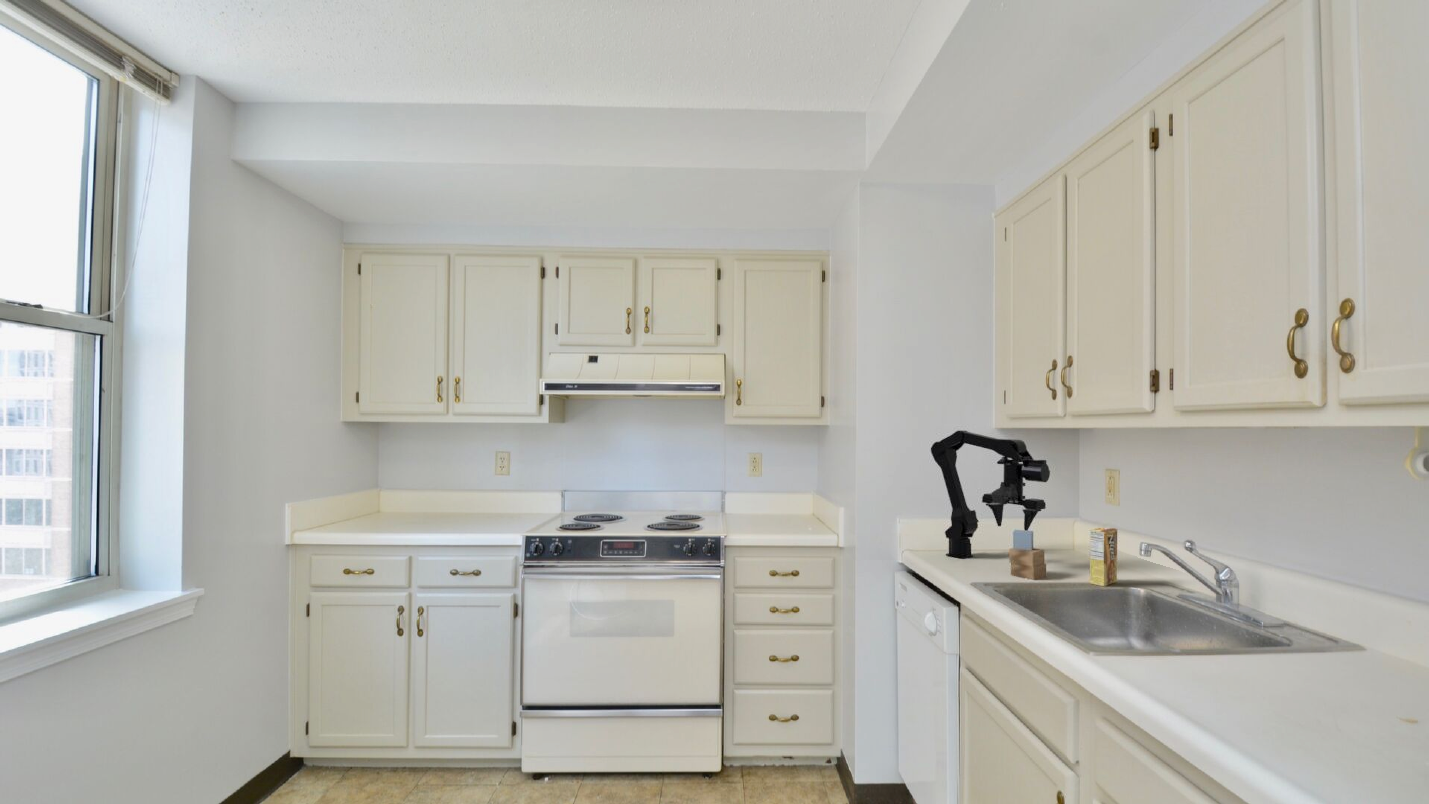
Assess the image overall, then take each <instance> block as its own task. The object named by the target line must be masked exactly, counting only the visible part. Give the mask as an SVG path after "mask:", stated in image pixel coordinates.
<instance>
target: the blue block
mask: <svg viewBox="0 0 1429 804" xmlns="http://www.w3.org/2000/svg"><path fill="white" fill-rule="evenodd" d="M1012 548H1013V549H1021V550H1031V551H1032V549H1033V548H1034V531H1033V530H1028V531H1026V530H1023V529H1014V530H1013V532H1012Z"/></svg>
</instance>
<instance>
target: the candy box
mask: <svg viewBox="0 0 1429 804" xmlns="http://www.w3.org/2000/svg"><path fill="white" fill-rule="evenodd" d="M1089 531H1090V533H1089V536H1090V537H1089V539H1090V540H1089V541H1090V542H1089V547H1090V548H1089V585H1095V586H1100V587H1106V586H1108V585H1111V584H1114V583H1117V582H1118V570H1117V569H1118V529H1117V528H1112V527H1105V526H1102V527H1098V528H1093V529H1090V530H1089Z"/></svg>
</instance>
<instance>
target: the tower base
mask: <svg viewBox="0 0 1429 804" xmlns="http://www.w3.org/2000/svg"><path fill="white" fill-rule="evenodd" d="M1011 575H1012V576H1011ZM1010 576H1011V577H1015V578H1021V579H1025V578H1027V580H1030V579H1031V581H1037V580H1040V579H1044V578H1046V577H1047V563H1044V564H1041V565H1037V566H1033V567H1032V566H1027V565H1021V564H1015V563H1010Z"/></svg>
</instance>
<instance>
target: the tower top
mask: <svg viewBox="0 0 1429 804" xmlns="http://www.w3.org/2000/svg"><path fill="white" fill-rule="evenodd" d="M1009 563H1010V564H1011V563H1015V564H1021V565H1027V566H1032V567H1033V566H1037V565H1041V564H1045V549H1041V548H1034V547H1033V549H1032V551H1031V550H1021V549H1013V547H1012V548H1009Z"/></svg>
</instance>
